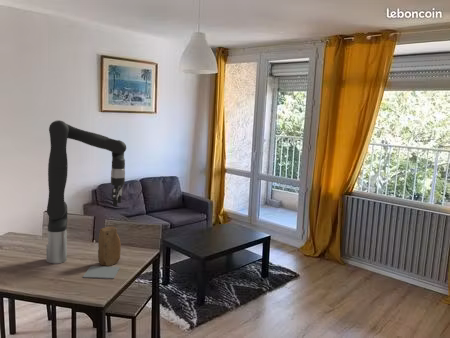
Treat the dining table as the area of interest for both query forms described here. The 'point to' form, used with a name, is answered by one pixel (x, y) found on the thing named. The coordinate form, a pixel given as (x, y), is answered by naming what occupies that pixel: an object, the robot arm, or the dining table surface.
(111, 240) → the brown rounded piece
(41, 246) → the dining table surface
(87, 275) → the mat
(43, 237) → the dining table surface
